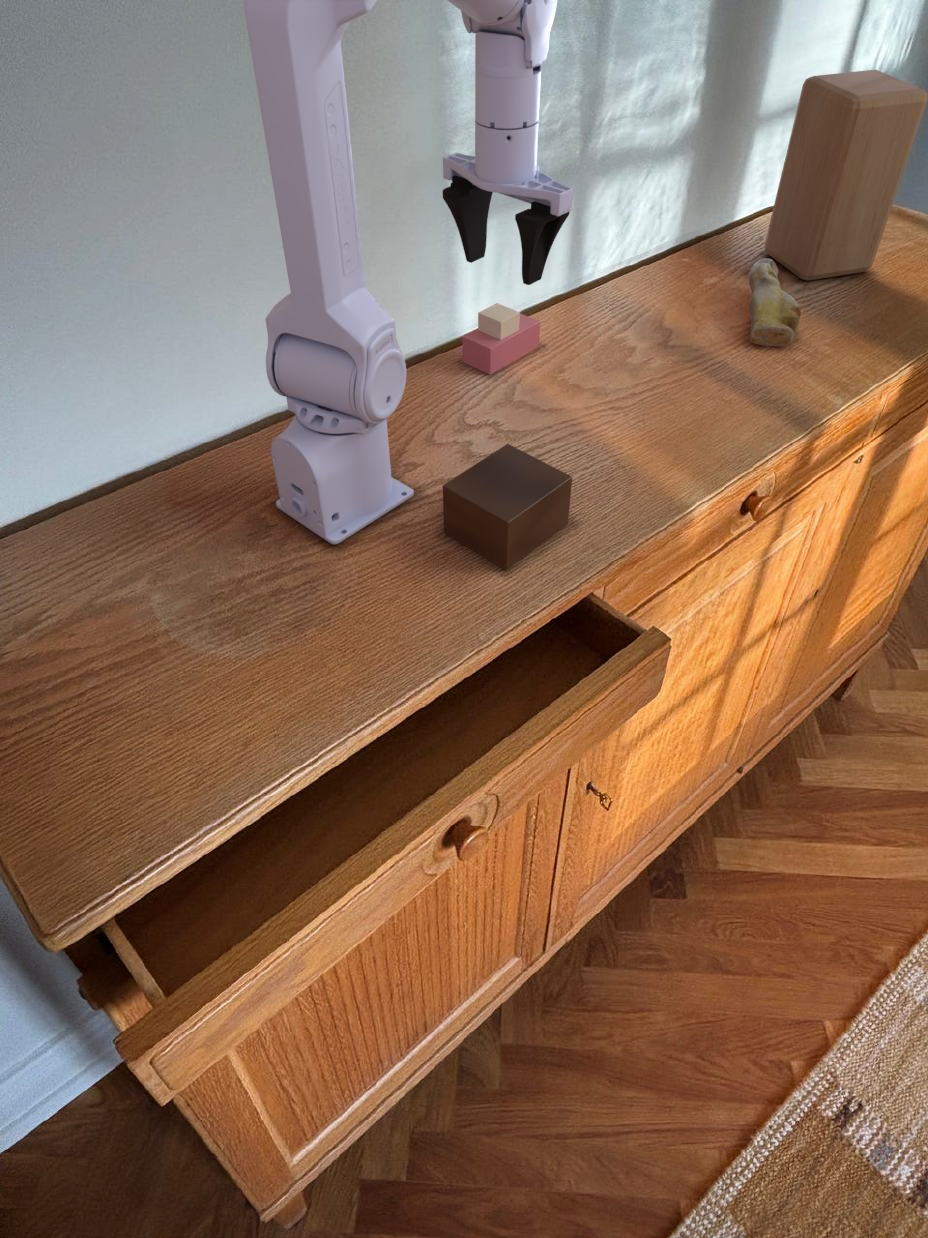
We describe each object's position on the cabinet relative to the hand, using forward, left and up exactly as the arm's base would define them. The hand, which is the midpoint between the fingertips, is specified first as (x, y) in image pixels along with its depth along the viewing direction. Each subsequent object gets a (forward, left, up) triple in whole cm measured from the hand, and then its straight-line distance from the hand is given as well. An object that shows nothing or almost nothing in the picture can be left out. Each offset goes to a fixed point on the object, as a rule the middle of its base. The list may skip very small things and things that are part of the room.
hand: (503, 269), depth 87 cm
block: (+44, -14, -10) cm, 47 cm away
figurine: (+27, -17, -10) cm, 33 cm away
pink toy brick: (0, 0, -9) cm, 9 cm away
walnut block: (-22, -20, -9) cm, 31 cm away
